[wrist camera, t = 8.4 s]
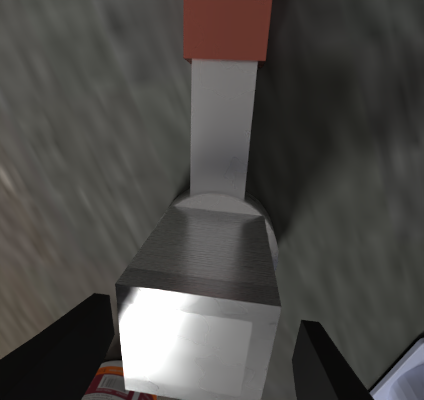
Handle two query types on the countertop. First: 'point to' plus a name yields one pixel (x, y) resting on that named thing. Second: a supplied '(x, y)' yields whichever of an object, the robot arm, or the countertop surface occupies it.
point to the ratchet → (224, 102)
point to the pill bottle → (113, 385)
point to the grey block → (199, 307)
